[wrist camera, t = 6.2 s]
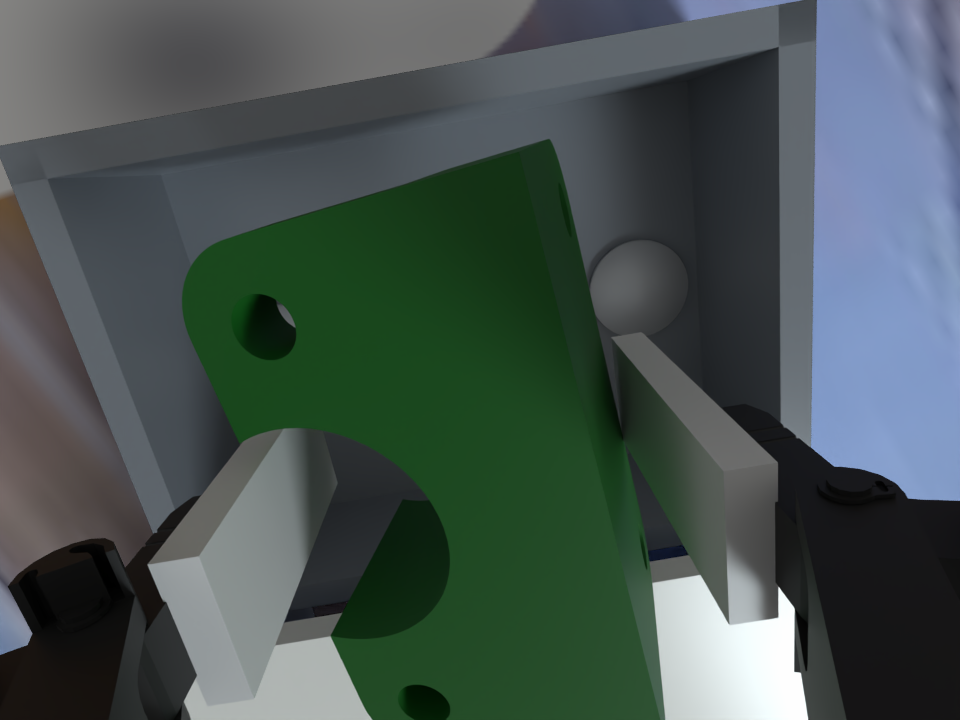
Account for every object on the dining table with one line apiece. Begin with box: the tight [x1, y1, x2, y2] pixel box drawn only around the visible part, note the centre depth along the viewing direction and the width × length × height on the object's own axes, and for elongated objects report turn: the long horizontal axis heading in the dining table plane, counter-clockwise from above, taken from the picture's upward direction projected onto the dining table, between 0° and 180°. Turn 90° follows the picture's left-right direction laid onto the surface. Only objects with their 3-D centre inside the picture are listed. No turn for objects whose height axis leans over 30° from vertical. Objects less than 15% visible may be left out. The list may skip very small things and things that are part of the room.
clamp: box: [182, 139, 665, 720], centre depth 12 cm, size 12×6×9 cm, turn 9°
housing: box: [0, 0, 817, 623], centre depth 24 cm, size 22×33×8 cm, turn 9°
